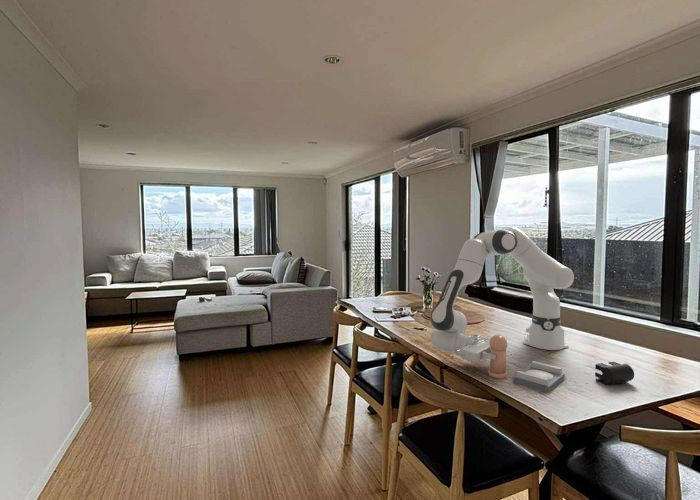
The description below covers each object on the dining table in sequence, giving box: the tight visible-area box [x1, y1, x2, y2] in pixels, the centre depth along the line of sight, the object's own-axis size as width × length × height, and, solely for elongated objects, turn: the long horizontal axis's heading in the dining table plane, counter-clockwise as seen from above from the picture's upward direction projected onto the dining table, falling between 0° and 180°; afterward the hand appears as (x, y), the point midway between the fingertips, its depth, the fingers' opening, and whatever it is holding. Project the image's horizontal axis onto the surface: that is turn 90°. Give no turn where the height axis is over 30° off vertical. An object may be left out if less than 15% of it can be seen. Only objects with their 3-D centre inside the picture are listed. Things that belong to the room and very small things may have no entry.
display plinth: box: [512, 360, 566, 393], centre depth 135 cm, size 16×12×4 cm
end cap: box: [594, 361, 635, 386], centre depth 133 cm, size 10×7×7 cm
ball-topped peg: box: [487, 334, 509, 380], centre depth 140 cm, size 7×7×15 cm
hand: (500, 354), depth 140 cm, fingers open, 6 cm apart
